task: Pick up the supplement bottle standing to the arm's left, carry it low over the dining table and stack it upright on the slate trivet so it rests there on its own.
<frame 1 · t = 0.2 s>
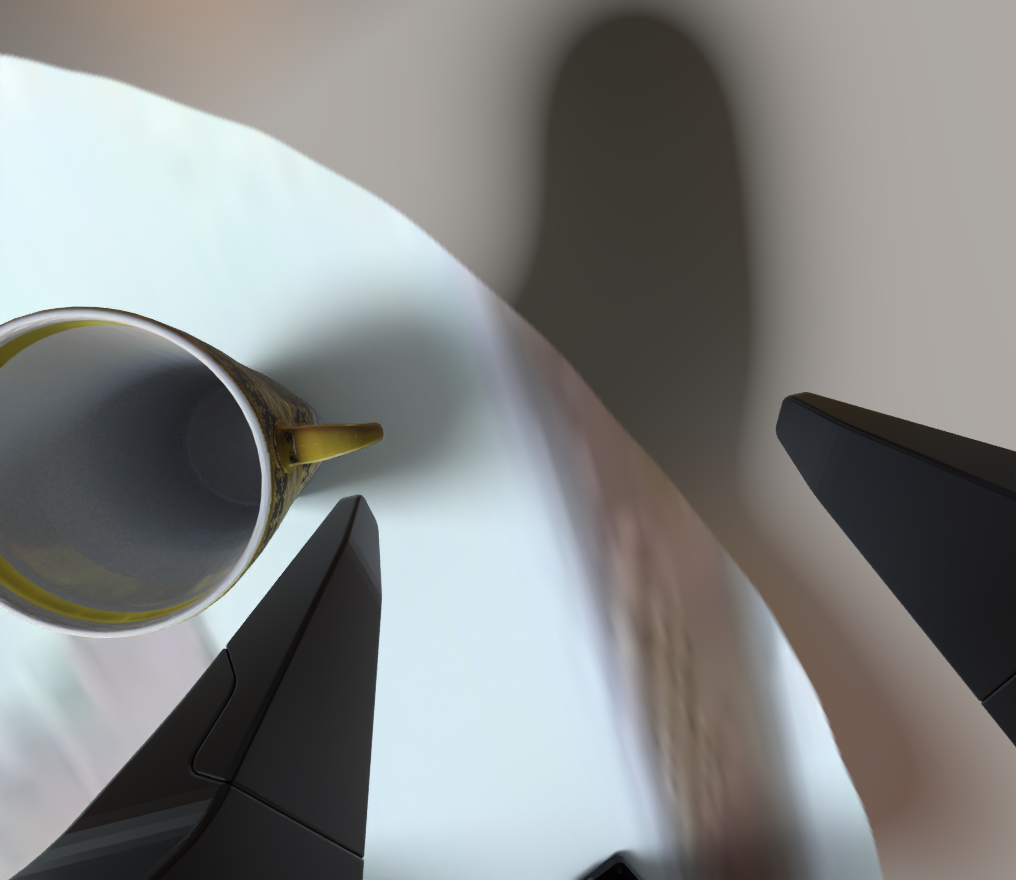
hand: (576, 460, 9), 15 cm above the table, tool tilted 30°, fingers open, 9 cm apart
ceramic cup: (289, 438, 23), on the table
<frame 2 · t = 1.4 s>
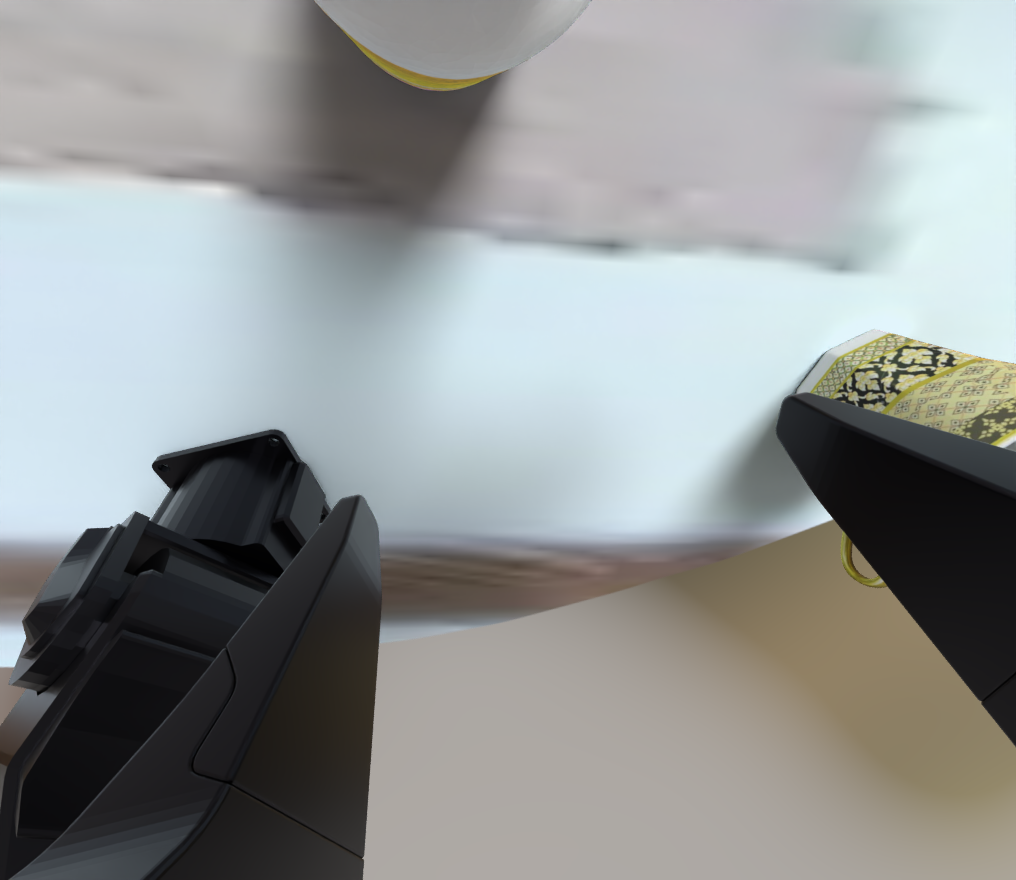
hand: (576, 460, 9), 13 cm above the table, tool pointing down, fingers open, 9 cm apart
ceramic cup: (827, 401, 28), on the table
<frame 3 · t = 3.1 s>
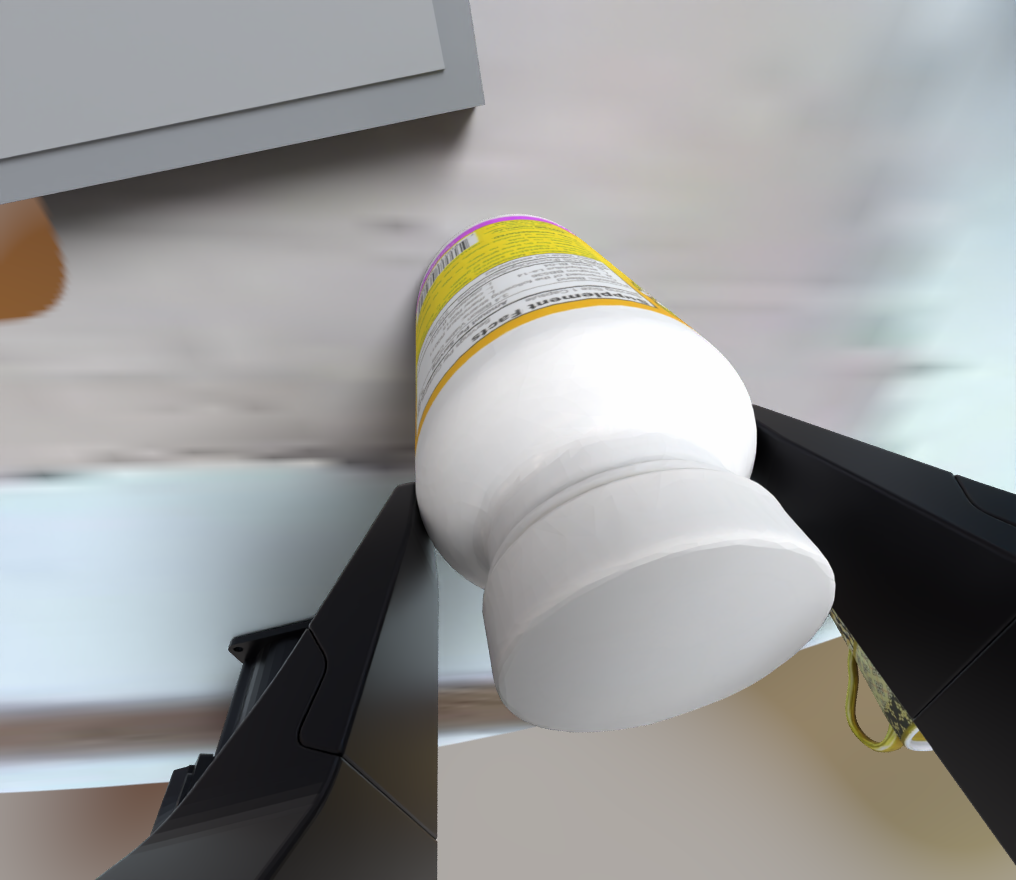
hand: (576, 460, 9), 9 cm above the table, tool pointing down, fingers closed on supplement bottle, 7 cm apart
ceramic cup: (834, 557, 30), on the table
supplement bottle: (509, 307, 16), on the table, touching gripper
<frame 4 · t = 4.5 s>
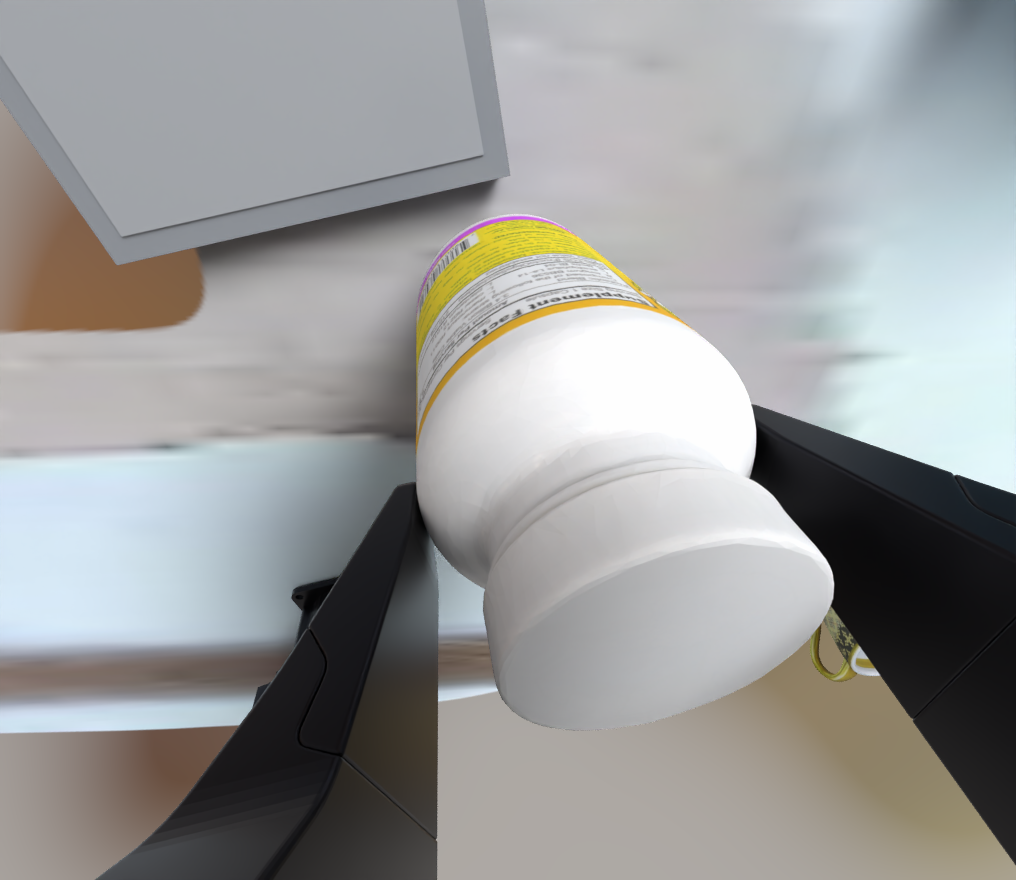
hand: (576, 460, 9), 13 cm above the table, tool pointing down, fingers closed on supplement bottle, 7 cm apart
ceramic cup: (801, 522, 35), on the table
supplement bottle: (509, 307, 16), point 4 cm above the table, touching gripper
when the fingers open (11 cm above the table, at t = 6.2 s): supplement bottle stays where it is, resting on slate trivet.
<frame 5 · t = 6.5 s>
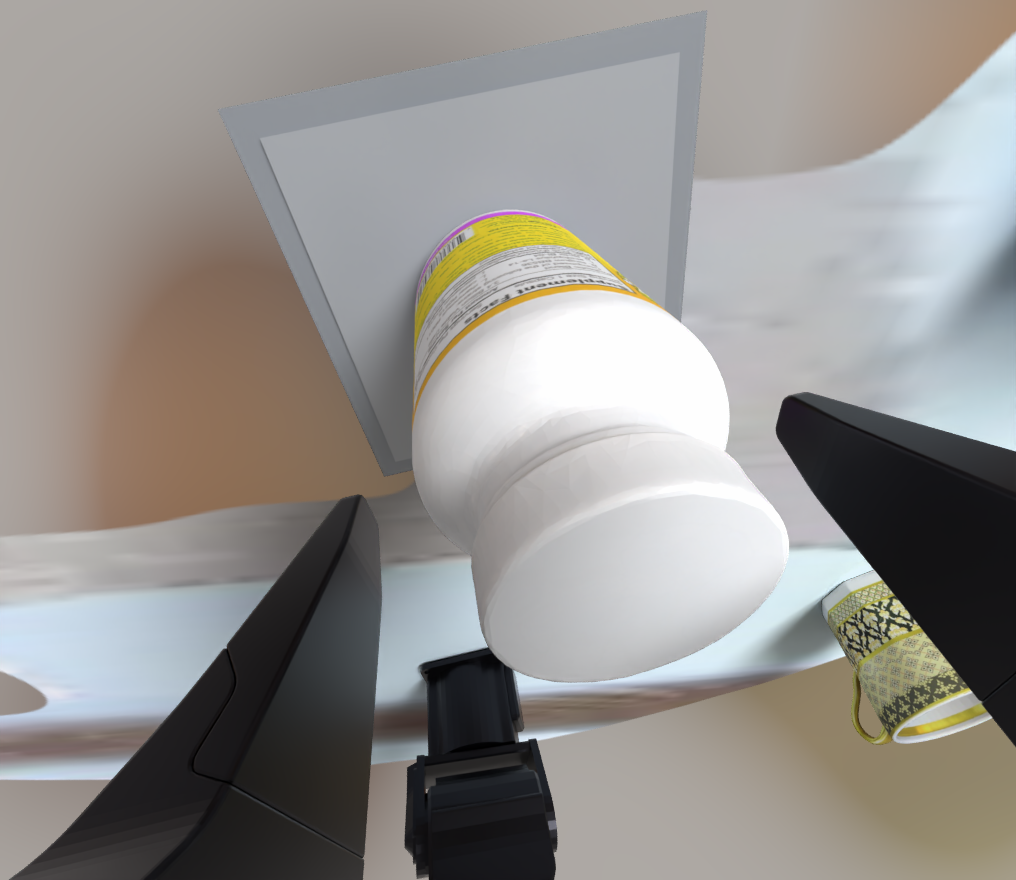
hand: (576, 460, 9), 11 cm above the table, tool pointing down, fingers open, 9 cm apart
slate trivet: (498, 283, 18), on the table
ceramic cup: (842, 601, 41), on the table
supplement bottle: (505, 300, 17), point 2 cm above the table, touching slate trivet
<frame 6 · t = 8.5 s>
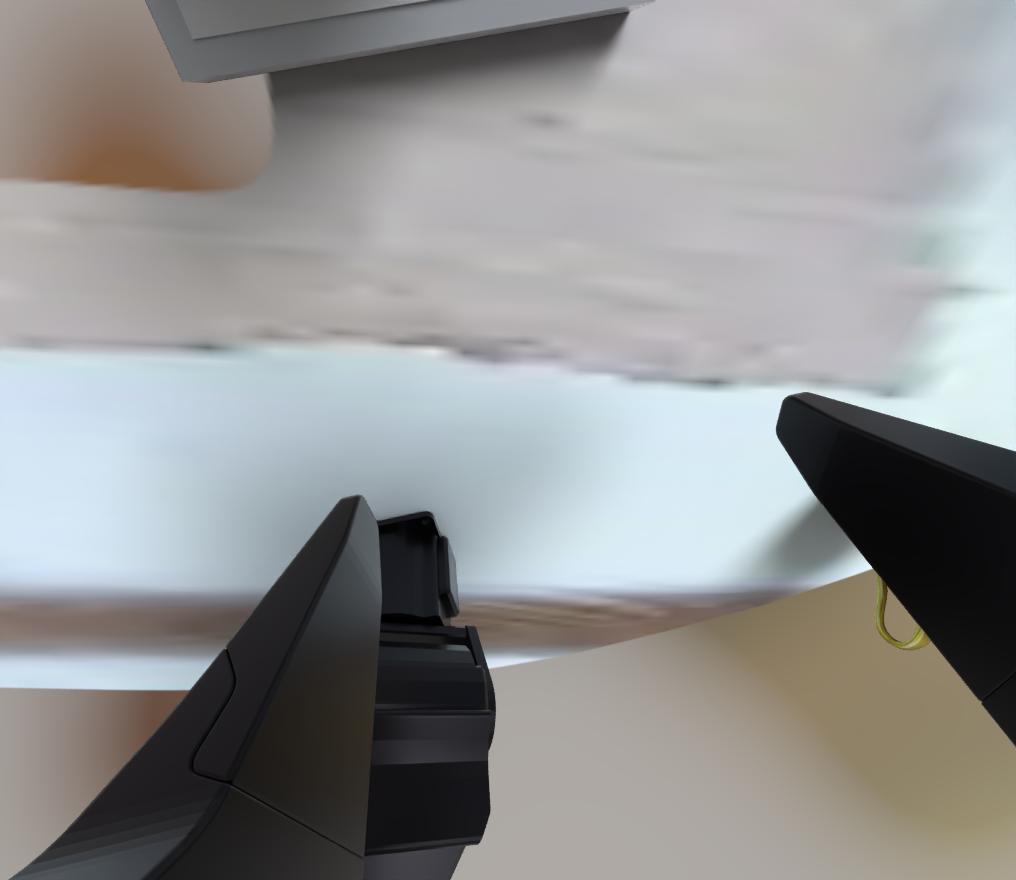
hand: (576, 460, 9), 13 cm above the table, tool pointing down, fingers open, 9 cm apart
ceramic cup: (865, 486, 33), on the table
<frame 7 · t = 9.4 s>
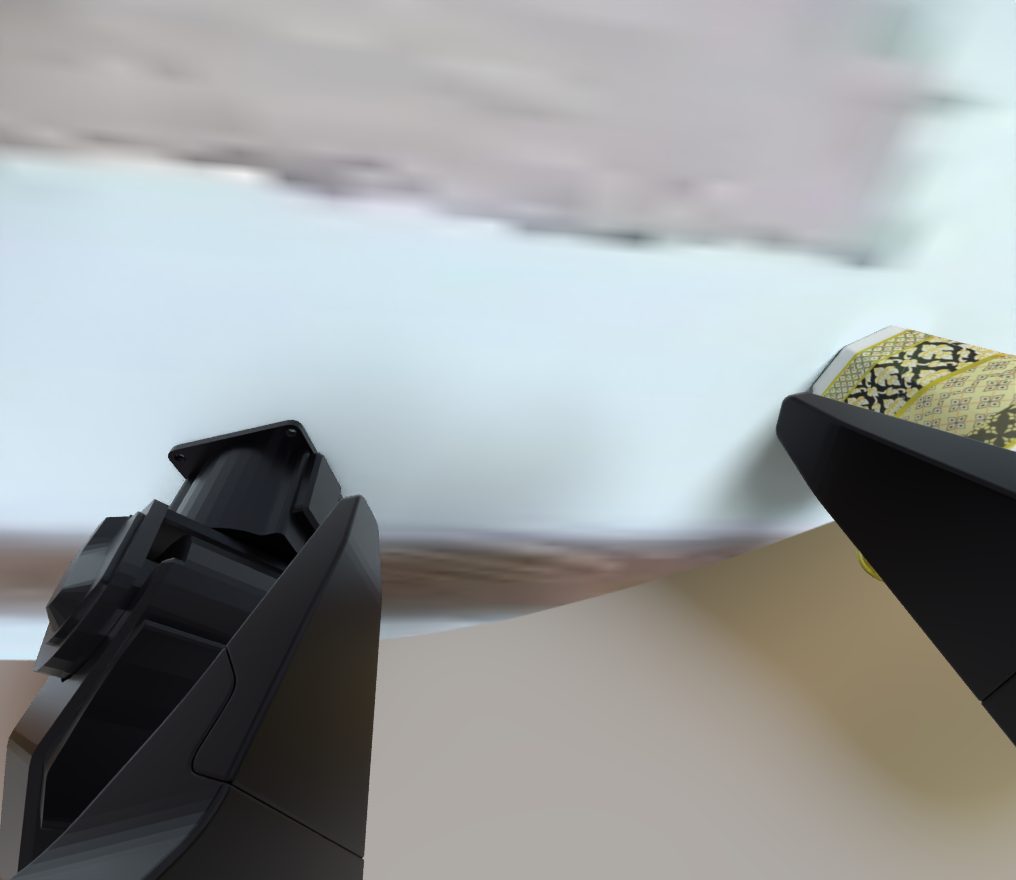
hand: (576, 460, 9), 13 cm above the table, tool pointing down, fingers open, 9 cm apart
ceramic cup: (842, 397, 28), on the table
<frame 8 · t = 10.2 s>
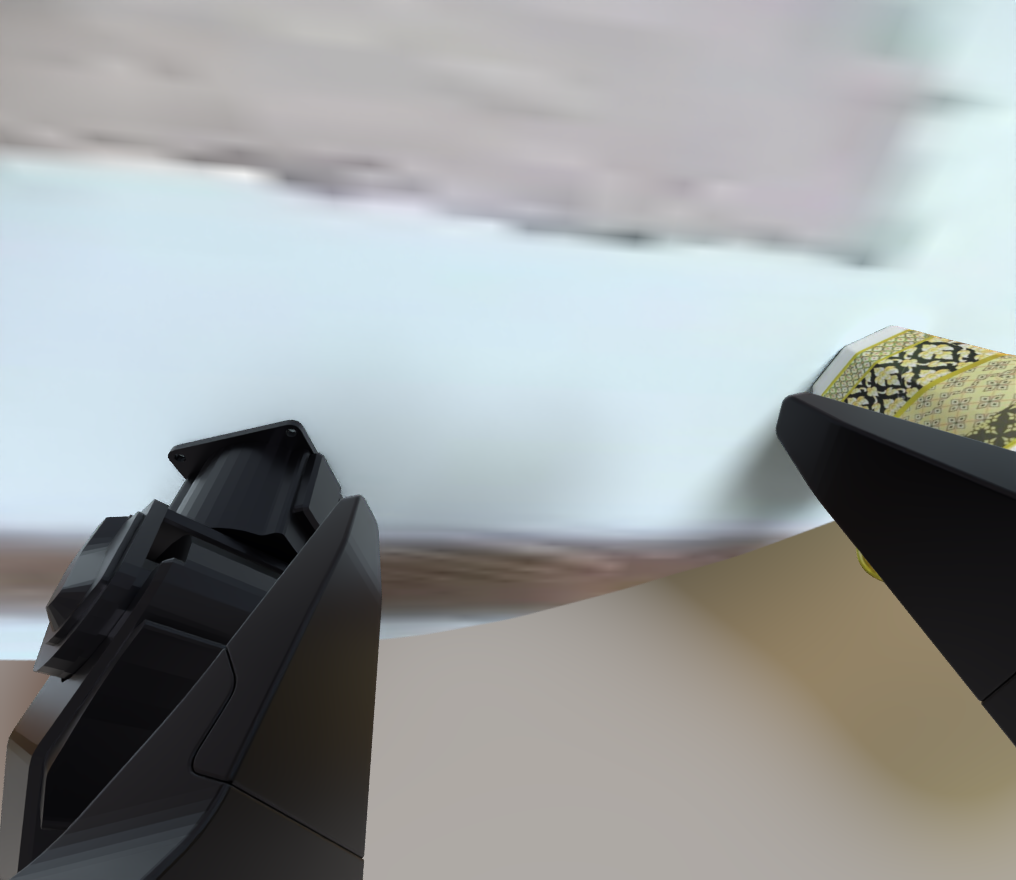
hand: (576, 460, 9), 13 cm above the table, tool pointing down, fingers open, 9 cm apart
ceramic cup: (842, 397, 28), on the table
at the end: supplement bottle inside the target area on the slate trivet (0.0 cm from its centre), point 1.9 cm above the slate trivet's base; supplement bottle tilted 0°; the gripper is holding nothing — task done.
